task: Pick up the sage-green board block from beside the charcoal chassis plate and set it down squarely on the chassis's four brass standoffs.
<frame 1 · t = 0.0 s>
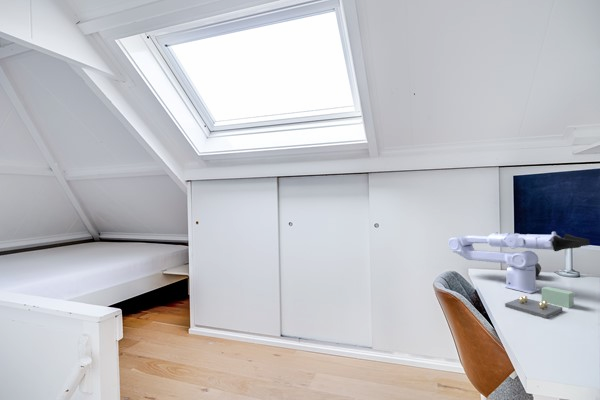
hand: (584, 243, 110), 22 cm above the table, tool horizontal, fingers open, 7 cm apart
end cap: (530, 277, 146), on the table
chassis: (533, 308, 106), on the table
board block: (557, 303, 111), on the table
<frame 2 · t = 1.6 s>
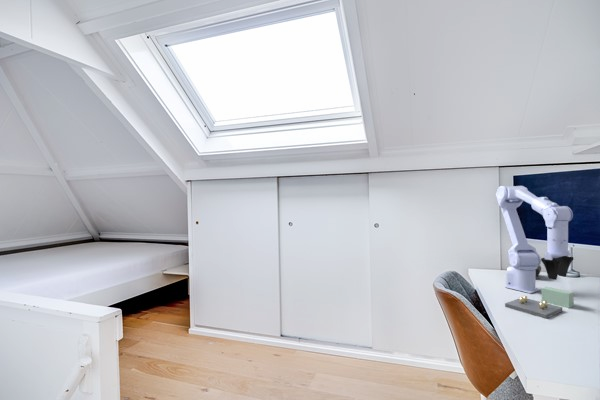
hand: (557, 277, 110), 9 cm above the table, tool pointing down, fingers open, 7 cm apart
nothing on the table moved.
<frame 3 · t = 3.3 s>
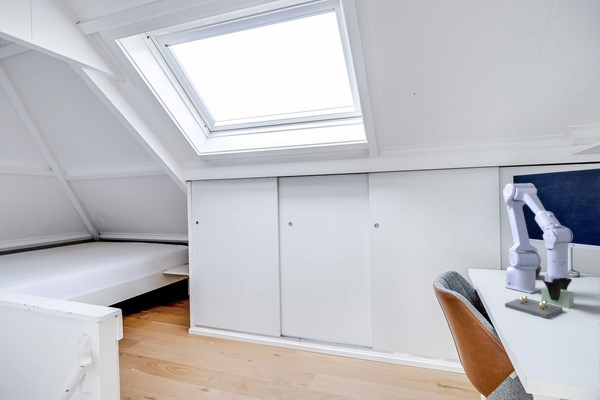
hand: (557, 298, 111), 2 cm above the table, tool pointing down, fingers closed on board block, 4 cm apart
board block: (557, 303, 111), on the table, touching gripper
everything else where it was.
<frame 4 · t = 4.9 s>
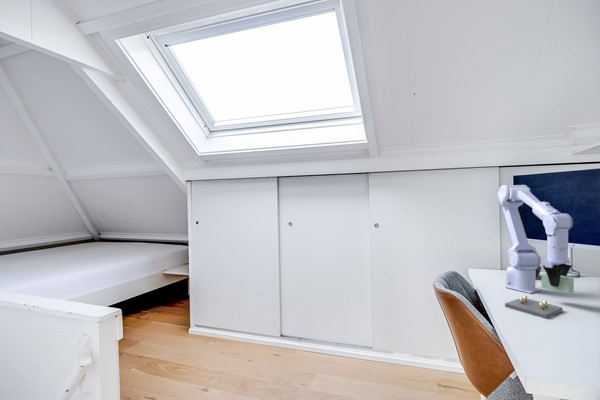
hand: (557, 285, 111), 7 cm above the table, tool pointing down, fingers closed on board block, 4 cm apart
board block: (557, 289, 111), point 5 cm above the table, touching gripper
everything else where it was.
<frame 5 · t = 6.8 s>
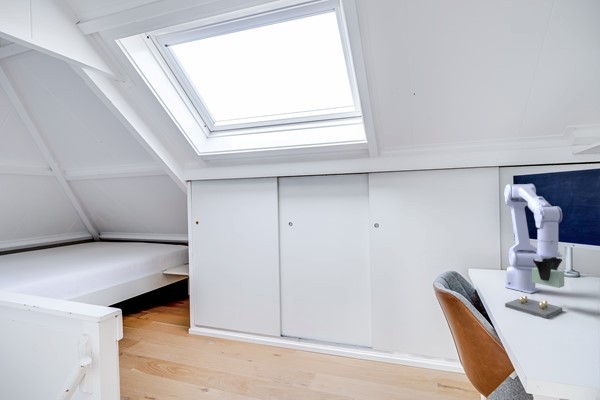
hand: (547, 279, 108), 9 cm above the table, tool pointing down, fingers closed on board block, 4 cm apart
board block: (547, 284, 108), point 8 cm above the table, touching gripper
everything else where it was.
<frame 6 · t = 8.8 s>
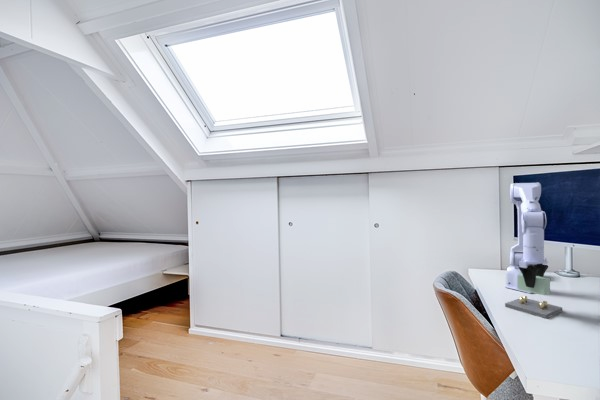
hand: (533, 286, 106), 8 cm above the table, tool pointing down, fingers closed on board block, 4 cm apart
board block: (533, 291, 106), point 6 cm above the table, touching gripper
everything else where it was.
when the fingers open (6 cm above the table, at t = 10.2 s): board block drops 1 cm, resting on chassis.
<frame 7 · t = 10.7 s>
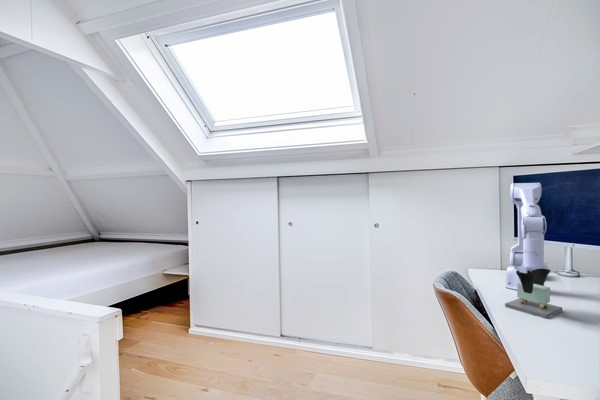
hand: (533, 290, 106), 6 cm above the table, tool pointing down, fingers open, 7 cm apart
board block: (533, 299, 106), point 3 cm above the table, touching chassis
everything else where it was.
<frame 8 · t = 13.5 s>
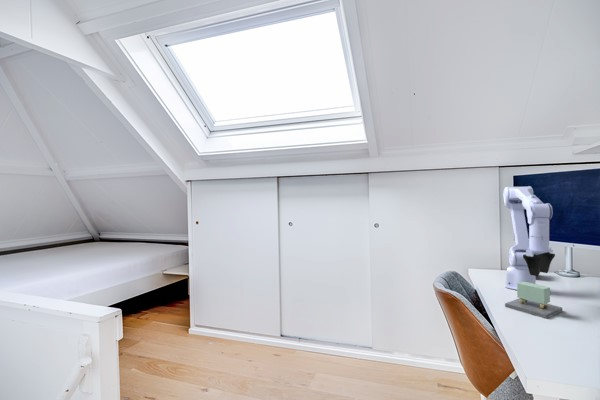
hand: (538, 273, 112), 10 cm above the table, tool pointing down, fingers open, 7 cm apart
nothing on the table moved.
at the end: board block 0.0 cm off-centre on the chassis, point 3.2 cm above the chassis's base; board block tilted 0°; the gripper is holding nothing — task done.
